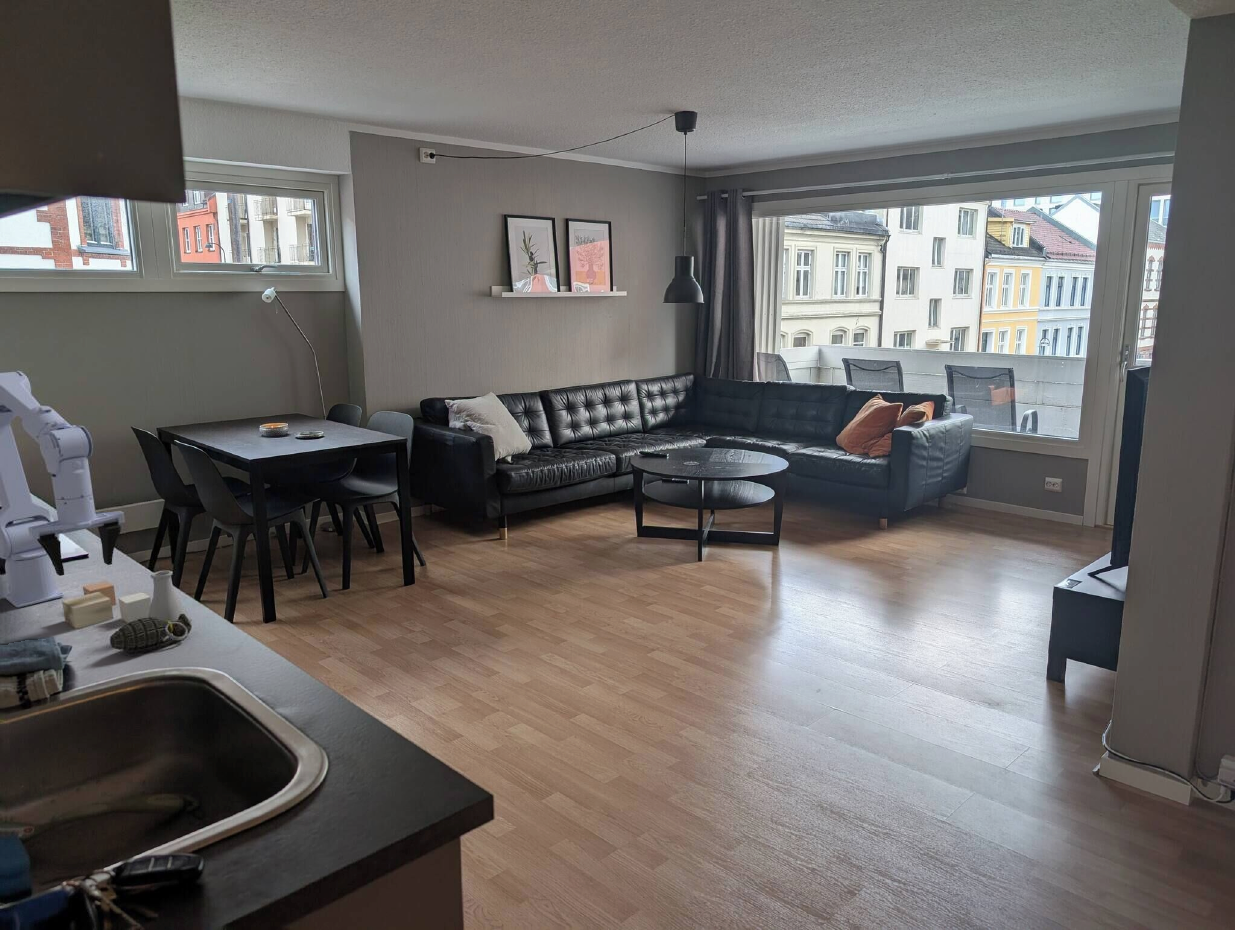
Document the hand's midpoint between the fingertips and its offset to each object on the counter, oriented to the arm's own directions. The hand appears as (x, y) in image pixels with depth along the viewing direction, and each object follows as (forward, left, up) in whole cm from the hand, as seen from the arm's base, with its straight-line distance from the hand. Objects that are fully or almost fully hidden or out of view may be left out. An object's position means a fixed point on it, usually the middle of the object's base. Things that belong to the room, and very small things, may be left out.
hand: (84, 568), depth 153 cm
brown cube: (-6, +4, -10) cm, 12 cm away
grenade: (+22, +3, -10) cm, 25 cm away
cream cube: (+6, +6, -10) cm, 13 cm away
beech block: (0, 0, -10) cm, 10 cm away
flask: (+15, +8, -10) cm, 19 cm away
